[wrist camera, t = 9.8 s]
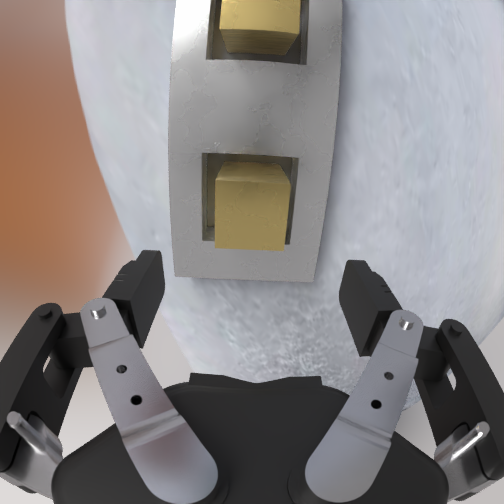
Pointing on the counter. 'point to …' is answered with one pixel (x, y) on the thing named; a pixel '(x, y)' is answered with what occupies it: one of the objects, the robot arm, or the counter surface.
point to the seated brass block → (259, 25)
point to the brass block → (251, 206)
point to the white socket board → (251, 138)
